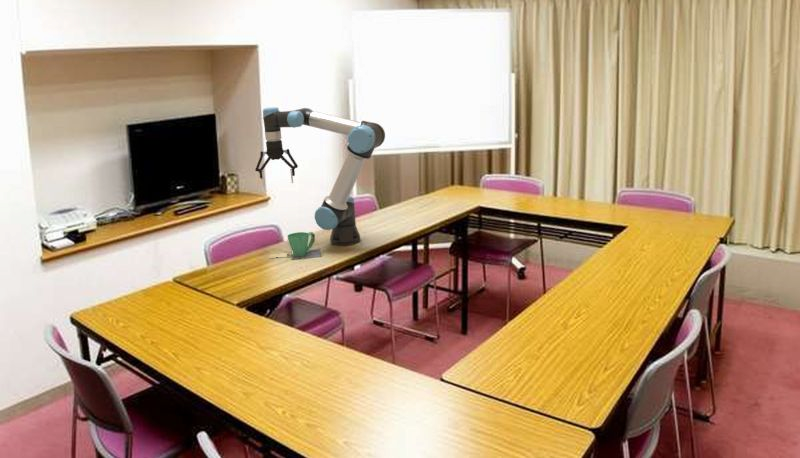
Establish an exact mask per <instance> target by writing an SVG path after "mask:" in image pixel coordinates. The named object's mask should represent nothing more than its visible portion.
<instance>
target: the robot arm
mask: <svg viewBox="0 0 800 458" xmlns="http://www.w3.org/2000/svg"><path fill="white" fill-rule="evenodd" d="M262 120H263V125H264V126H263V127H264V139H265V146H266V151H263V150H261V151H260V153H259V154H260V156H259V159H258V162H257V163H256V164H257V165H256V167H255V172H258V173H259V178H260V179H262V185H263V186H266V182H265V173H264V169H265V167H266V166H267V164H268V163H269V162H270V161H271V160H272V161H274V160H275V161H276V160H280V159H281V160H282V161H283V162H284V163H285V164H286V165H287V166H288V167H289V168H290V178H291V179H290V180H291V184H293V183H294V177H295V175H296V172H295V169H297V168H298V167H299V165H298V164H297V162H296V161H295V158H293V155H292V154H291V152H290V149H289V148H286V149H284V148H283V141H282V131H281V129H282V128H294V129H295V128H300V127H302V126H303V125H304V126H306V127H312V128H317V129H320V130H324V131H328V132H331V133H336V134H340V135H345V136H347V143H348V144H347V147H346V150H347V152H348V153H347V154H346V157H345V158H344V161H343V164H342V165H341V169H340V170H339V173H338V175H337V178H336V180H335V182H334V184H333V187H332V189H331V192H330V194H329V195H327V196H325V197H324V199H323V201H322V203H321V206H320V207H318V208H317V209H316V210H315V212H314V220H315V224H316V225H317V226H318V227H319V228H320V229H323V230H324V231H330V230H331V233H330V237H329V243H330V244H331V245H334V246H350V245H355V244H357V243H360V241H361V234H360V232H359V230H358V228H357V225H356V224H357V223H356V222H357V221H356V212H355V210H356V208H355V200H354V197H353V196H350V195H351V193H352V191H353V188H354V187H355V185H356V182H357V179H358V178H359V175H360V173H361V171H362V168H363V166H364V165H365V163H366V160H369V159H371V157H372V154H373V152H374V150H375V149H376V148H378V147H380V146H381V145H382V144H383V143H384V142H385V139H386V132H385V129H384V127H382V125H380V124H379V123H377V122H373V121H372V122H371V121H366V120H361V121H357V120H353V119H348V118H344V117H340V116H336V115H333V114H332V115H331V114H327V113H322V112H319V111H315V110H312V109H311V108H308V107H302V108H298V109H294V110H288V111H287V110H284V111H280V109H279V107H277V106H276V107H275V106H273V107H272V106H271V107H265V108H263V110H262ZM284 153H285V155H287V156H288V157H289V159H290V161H291V163H290V162H289V160H287V159H286V157H284ZM266 155H267V156H268V157H267V159H265V161H264V163H263V164H262V166H261V163H262V160H263V158H264V157H265V156H266ZM292 164H293V165H292ZM260 166H261V167H260Z"/></svg>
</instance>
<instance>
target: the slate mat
mask: <svg viewBox="0 0 800 458" xmlns="http://www.w3.org/2000/svg"><path fill="white" fill-rule="evenodd" d="M290 255H291V261H293V260H304V259H305V260H306V259H314V258H322V257H323V255H322V251H321V248H310V249H309V250H308V251H307V252H306V254H305V256H302V257H296V256H295V255H294V253H293V254H290Z"/></svg>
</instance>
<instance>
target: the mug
mask: <svg viewBox="0 0 800 458" xmlns="http://www.w3.org/2000/svg"><path fill="white" fill-rule="evenodd" d="M309 237H310V240H309ZM287 240H288V243H289V246H290V248H291V251H293V253H294V255H295V256H296V257H302V256H305V254H306V252H307V251H308V250H311V249H312V247H313V245H314V243H315V240H316V238H315V233H314V232H312V231H308V232H305V231H304V232H303V231H300V232H293V233H290V234H288V235H287Z"/></svg>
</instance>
